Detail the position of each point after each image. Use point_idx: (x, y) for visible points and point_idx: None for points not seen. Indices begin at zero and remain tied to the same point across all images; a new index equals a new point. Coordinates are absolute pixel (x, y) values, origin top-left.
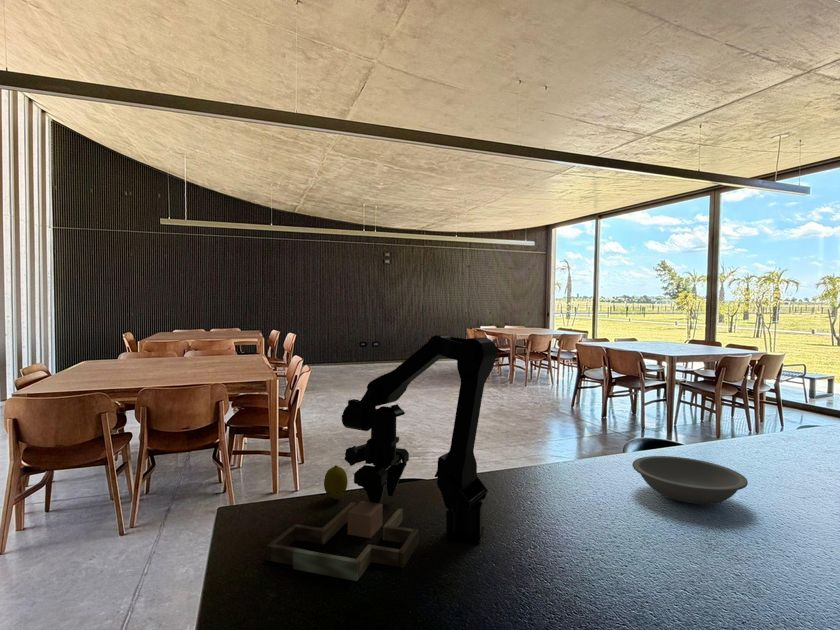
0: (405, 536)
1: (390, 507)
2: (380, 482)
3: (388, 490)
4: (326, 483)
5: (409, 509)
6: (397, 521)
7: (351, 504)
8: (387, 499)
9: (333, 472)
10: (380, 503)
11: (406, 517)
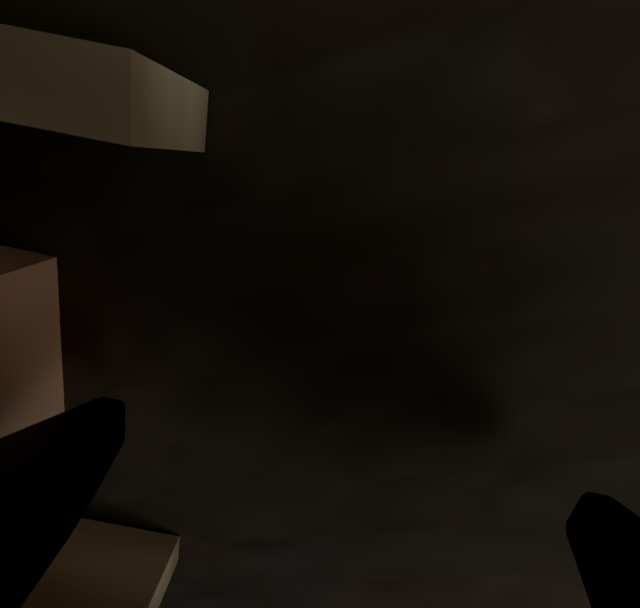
0: None
1: (416, 465)
2: None
3: (628, 556)
4: None
5: (384, 587)
6: None
7: (25, 87)
8: (623, 420)
9: None
10: (49, 559)
11: (241, 576)
